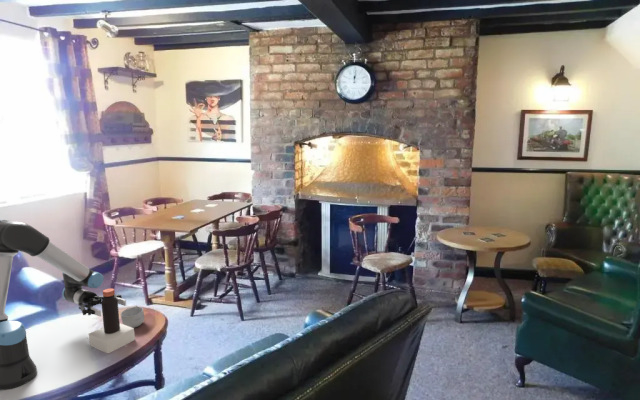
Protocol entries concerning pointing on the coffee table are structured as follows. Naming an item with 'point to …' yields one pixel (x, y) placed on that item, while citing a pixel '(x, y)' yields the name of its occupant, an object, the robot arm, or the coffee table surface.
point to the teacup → (132, 316)
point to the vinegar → (110, 311)
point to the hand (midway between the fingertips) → (113, 308)
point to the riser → (111, 338)
